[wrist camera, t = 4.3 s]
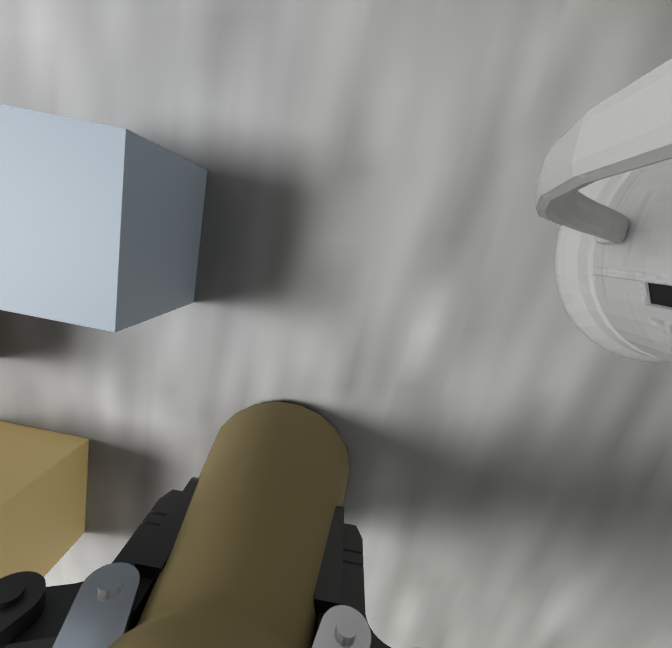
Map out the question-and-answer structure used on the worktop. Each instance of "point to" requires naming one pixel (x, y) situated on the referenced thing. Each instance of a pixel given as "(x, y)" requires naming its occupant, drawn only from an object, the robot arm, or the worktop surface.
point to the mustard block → (40, 496)
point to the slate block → (94, 222)
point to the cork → (251, 537)
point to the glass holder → (616, 218)
